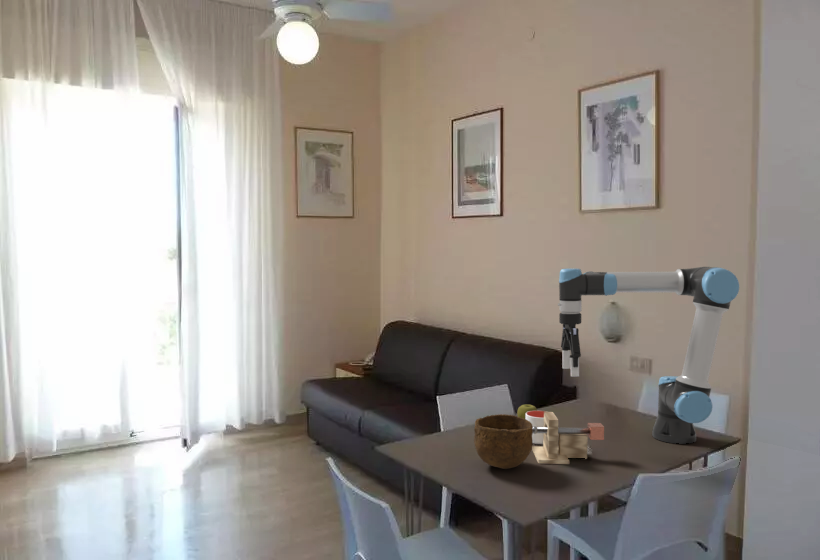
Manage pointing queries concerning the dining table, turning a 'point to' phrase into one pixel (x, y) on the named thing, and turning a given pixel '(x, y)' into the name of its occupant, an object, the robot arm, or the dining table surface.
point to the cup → (536, 424)
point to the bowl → (503, 440)
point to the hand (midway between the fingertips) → (570, 372)
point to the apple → (525, 410)
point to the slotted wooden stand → (559, 444)
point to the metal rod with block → (578, 431)
